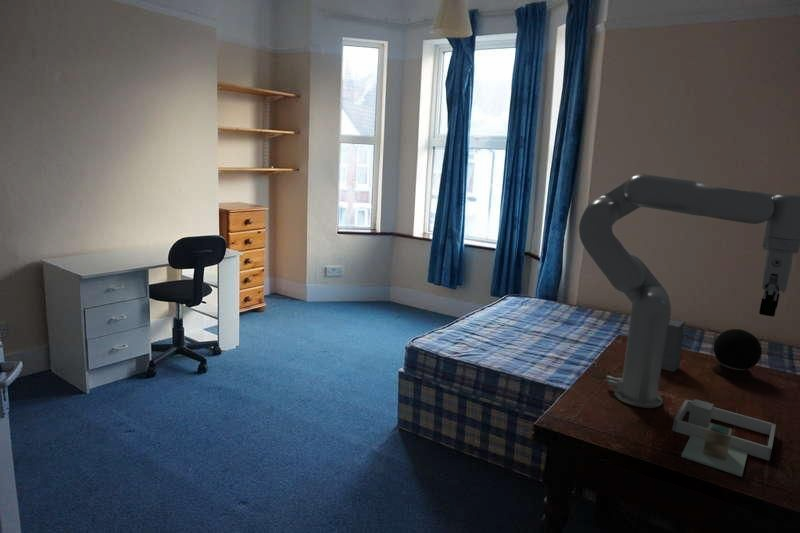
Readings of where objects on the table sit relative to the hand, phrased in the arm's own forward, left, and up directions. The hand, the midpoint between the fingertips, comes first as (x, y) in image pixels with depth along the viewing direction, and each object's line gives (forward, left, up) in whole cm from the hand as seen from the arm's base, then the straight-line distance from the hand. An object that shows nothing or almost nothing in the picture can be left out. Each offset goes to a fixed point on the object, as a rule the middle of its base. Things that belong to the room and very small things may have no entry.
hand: (767, 311), depth 139 cm
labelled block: (-4, -26, -30) cm, 40 cm away
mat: (-4, -26, -30) cm, 40 cm away
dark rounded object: (-7, +36, -31) cm, 48 cm away
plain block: (-10, -12, -30) cm, 34 cm away
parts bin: (-4, -12, -30) cm, 33 cm away
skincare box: (-26, +26, -31) cm, 48 cm away
